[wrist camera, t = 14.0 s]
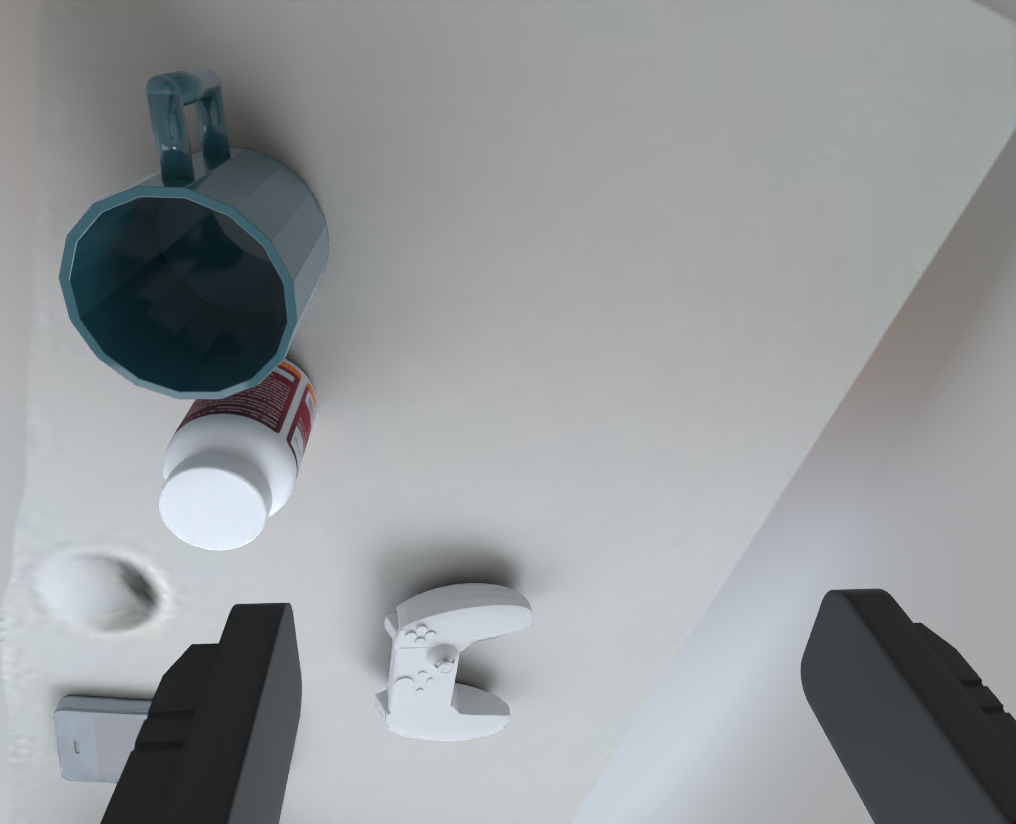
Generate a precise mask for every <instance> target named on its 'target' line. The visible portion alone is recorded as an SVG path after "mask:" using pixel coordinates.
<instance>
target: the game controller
mask: <svg viewBox="0 0 1016 824" xmlns="http://www.w3.org/2000/svg"><path fill="white" fill-rule="evenodd" d="M530 626H532V610H531V607H530V603H529V602H528V600H527V599H526V598H525V597H524V596H523V595H522V594H520V593H519V592H517V591H515V590H513V589H510V588H507V587H503V586H500V585H494V584H484V583H465V584H455V585H449V586H443V587H439V588H435V589H432V590H429V591H425V592H423V593H420V594H418V595H416V596H413V597H412V598H410V599H408V600H406V601H404V602H403V603H401V604H399V605H398V606H397V609H396V612H393V613H390V614H387V615H385V624H384V627H385V629H386V631H387V632H388V634H389V635H390V637H391V638H392V640H393V643H392V652H391V662H390V671H389V680H388V686H387V690H385V691H383V692H381V693H378V694H376V695H375V703H374V705H375V707H376V709H377V711H378V712H379V714H380V716H381V718H382V719H383V721H384V722H385V721H386V723H387V727H388V729H389V730H390V731H392V732H394V733H397V734H399V735H403V736H406V737H411V738H416V739H423V740H434V741H458V740H469V739H475V738H480V737H485V736H488V735H491V734H494V733H496V732H498V731H500V730H501V729H503V728H504V727H505V725H506V723H507V721H508V719H509V717H510V710H509V707H508V705H507V704H506V703H505V702H504V701H503V700H502V699H500V698H498V697H497V696H495V695H493V694H491V693H488V692H486V691H484V690H481V689H478V688H475V687H471V686H467V685H463V684H459V683H455V678H456V672H457V666H458V661H459V655H460V651H463V650H464V649H466V648H467V647H468V646H469V645H471V644H472V643H473V642H477V641H482V640H487V639H492V638H496V637H499V636H503V635H506V634H509V633H512V632H515V631H518V630H521V629H524V628H527V627H530Z"/></svg>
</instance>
